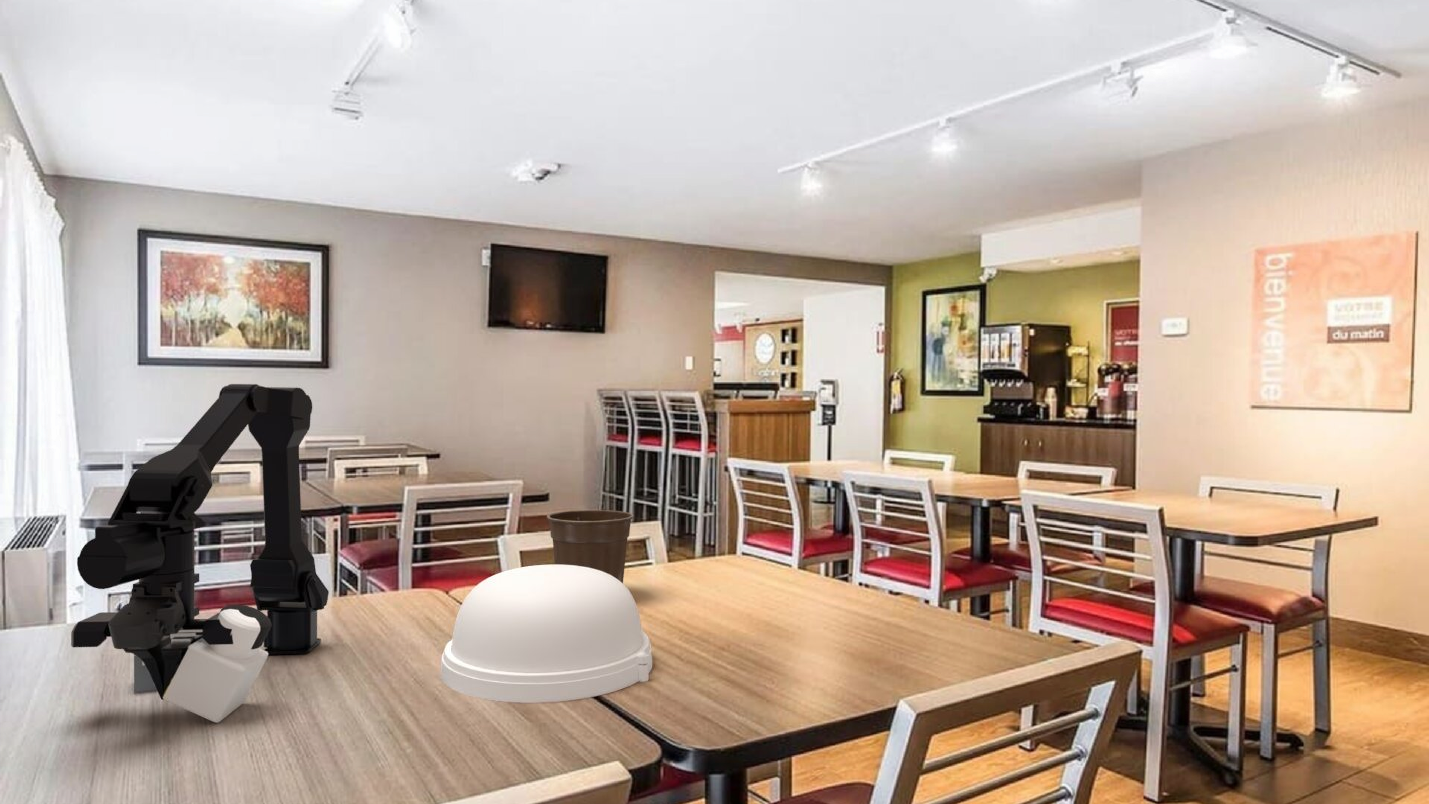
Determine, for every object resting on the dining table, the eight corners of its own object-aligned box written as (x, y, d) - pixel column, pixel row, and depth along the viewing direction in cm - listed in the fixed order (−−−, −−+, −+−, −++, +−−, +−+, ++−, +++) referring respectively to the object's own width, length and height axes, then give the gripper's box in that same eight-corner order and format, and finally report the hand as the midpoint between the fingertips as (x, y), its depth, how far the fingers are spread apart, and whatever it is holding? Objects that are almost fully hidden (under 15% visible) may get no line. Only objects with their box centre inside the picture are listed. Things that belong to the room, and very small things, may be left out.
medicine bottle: (191, 679, 110) (235, 593, 110) (244, 703, 110) (288, 617, 110) (160, 699, 102) (207, 607, 103) (217, 724, 103) (263, 633, 103)
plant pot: (561, 587, 175) (562, 507, 175) (640, 591, 173) (641, 509, 172) (534, 608, 159) (534, 519, 158) (620, 612, 157) (621, 522, 156)
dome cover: (691, 652, 134) (692, 560, 134) (593, 719, 107) (594, 605, 106) (516, 628, 146) (516, 544, 146) (387, 684, 119) (387, 580, 118)
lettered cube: (135, 683, 117) (135, 645, 117) (178, 676, 120) (178, 639, 120) (134, 695, 113) (133, 655, 113) (179, 688, 116) (179, 649, 115)
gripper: (39, 586, 97) (40, 726, 97) (218, 584, 99) (217, 721, 99) (99, 566, 108) (99, 692, 108) (258, 564, 110) (258, 688, 110)
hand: (166, 698), depth 106 cm, fingers closed
